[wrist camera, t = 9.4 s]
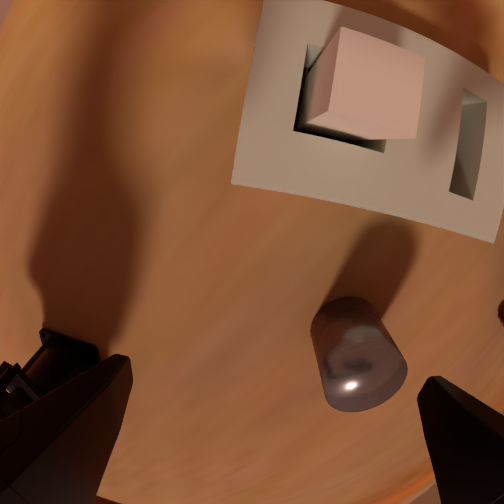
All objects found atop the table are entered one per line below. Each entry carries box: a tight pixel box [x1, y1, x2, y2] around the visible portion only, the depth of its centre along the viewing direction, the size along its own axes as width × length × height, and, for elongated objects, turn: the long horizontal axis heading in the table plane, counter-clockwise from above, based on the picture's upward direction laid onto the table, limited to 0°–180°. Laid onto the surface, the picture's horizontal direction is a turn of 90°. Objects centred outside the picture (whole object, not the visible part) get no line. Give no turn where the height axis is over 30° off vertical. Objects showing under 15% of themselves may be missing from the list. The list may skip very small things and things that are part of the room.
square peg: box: [296, 27, 425, 141], centre depth 11 cm, size 3×3×8 cm
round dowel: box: [310, 297, 408, 412], centre depth 17 cm, size 5×5×6 cm
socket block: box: [231, 0, 504, 244], centre depth 13 cm, size 16×10×4 cm, turn 81°
